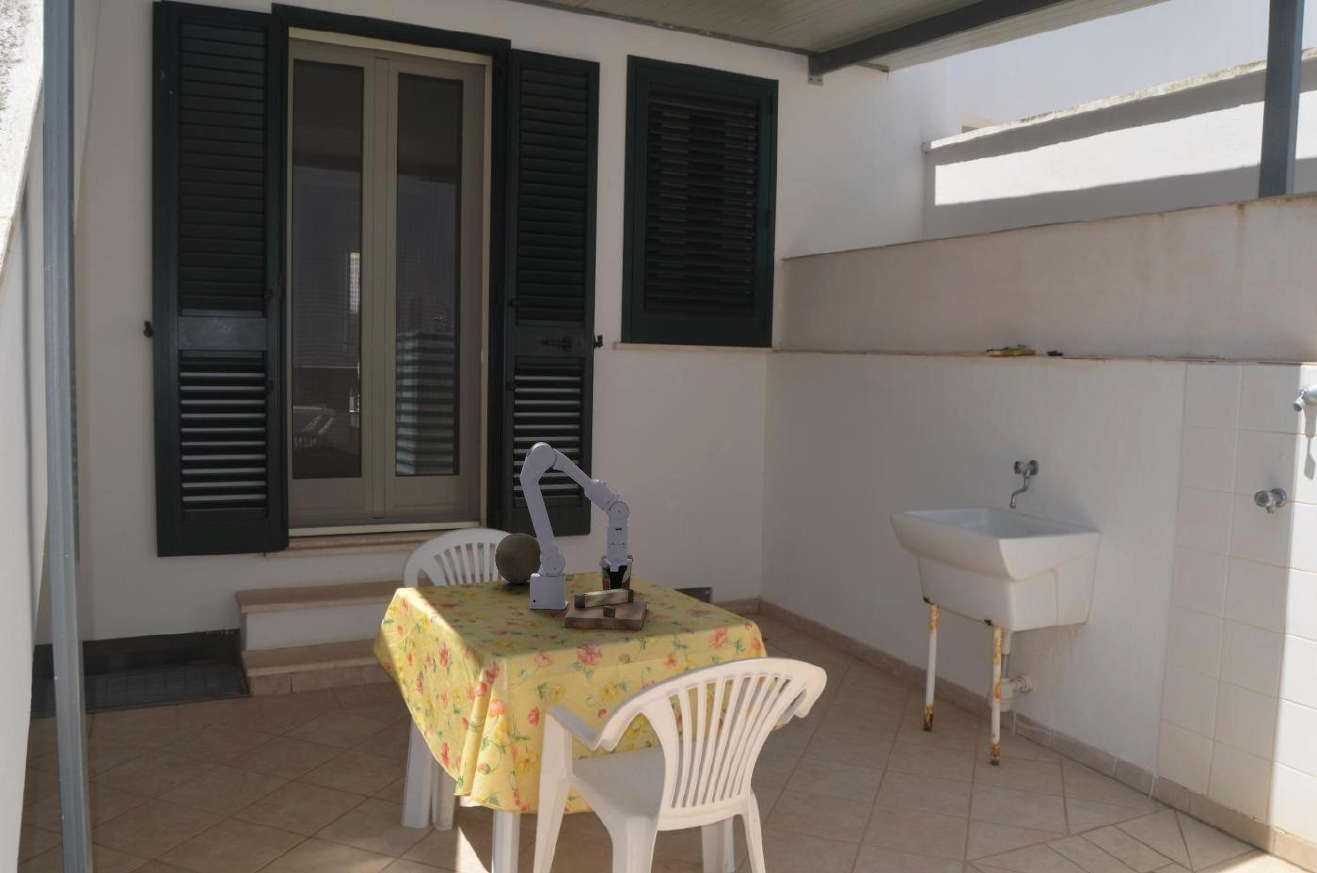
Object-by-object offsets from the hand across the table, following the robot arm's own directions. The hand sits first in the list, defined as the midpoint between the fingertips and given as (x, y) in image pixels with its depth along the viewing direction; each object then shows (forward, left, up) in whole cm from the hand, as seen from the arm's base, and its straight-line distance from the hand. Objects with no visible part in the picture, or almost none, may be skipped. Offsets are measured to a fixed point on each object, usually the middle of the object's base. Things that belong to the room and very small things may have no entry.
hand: (616, 592), depth 289 cm
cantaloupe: (-31, +22, -4) cm, 38 cm away
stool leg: (-3, -10, -1) cm, 10 cm away
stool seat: (-1, -14, -3) cm, 14 cm away
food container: (-3, +17, -4) cm, 18 cm away
